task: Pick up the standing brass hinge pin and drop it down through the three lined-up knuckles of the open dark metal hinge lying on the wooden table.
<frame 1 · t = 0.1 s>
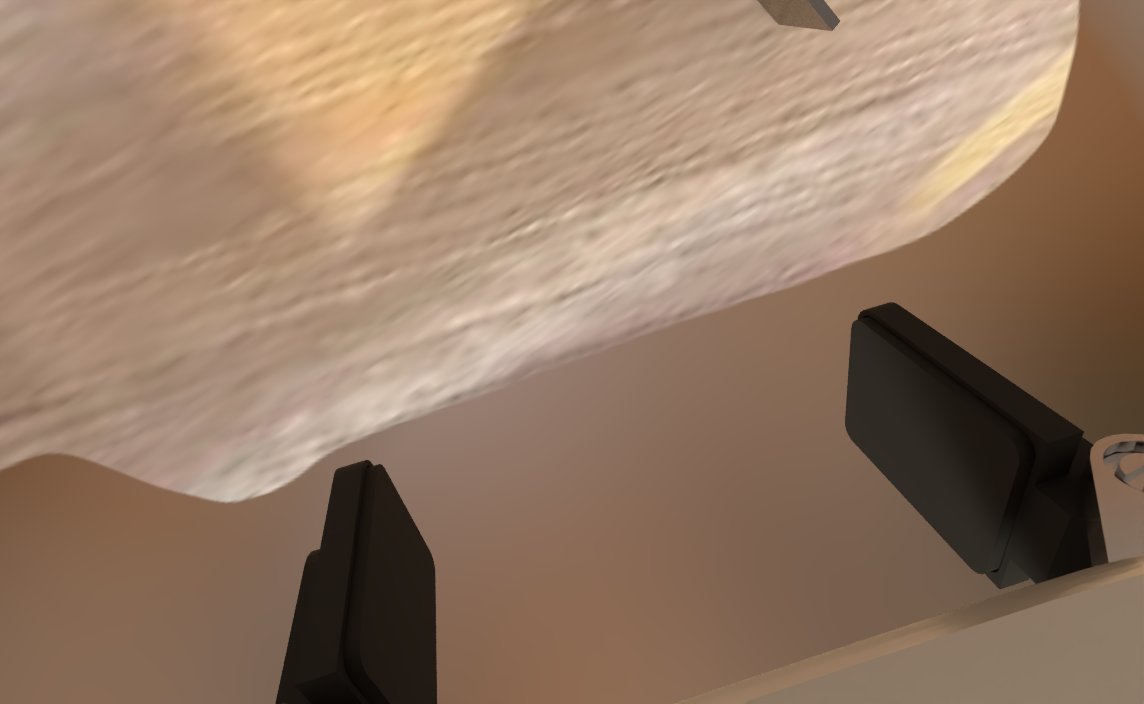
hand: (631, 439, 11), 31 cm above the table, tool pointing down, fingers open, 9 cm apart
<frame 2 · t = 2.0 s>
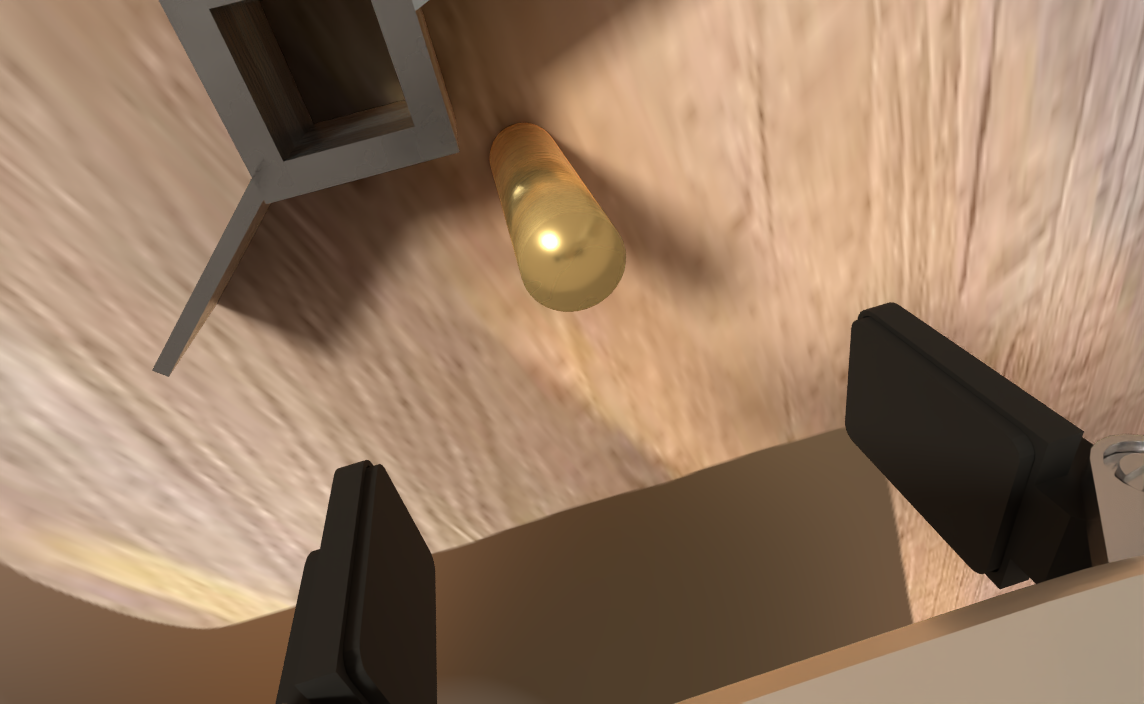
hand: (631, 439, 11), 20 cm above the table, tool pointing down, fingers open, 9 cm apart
hinge pin: (524, 158, 27), on the table
hinge: (343, 51, 24), on the table
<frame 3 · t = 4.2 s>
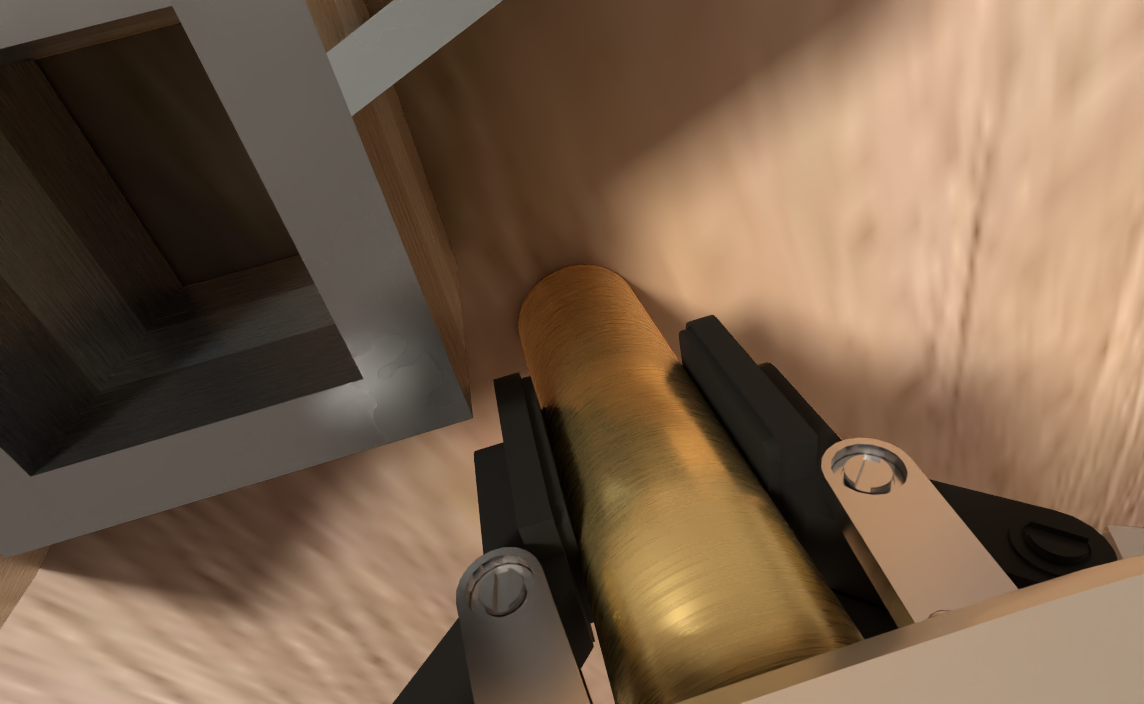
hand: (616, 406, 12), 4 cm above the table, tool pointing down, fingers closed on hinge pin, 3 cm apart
hinge pin: (579, 321, 15), on the table, touching gripper
hinge: (231, 154, 12), on the table
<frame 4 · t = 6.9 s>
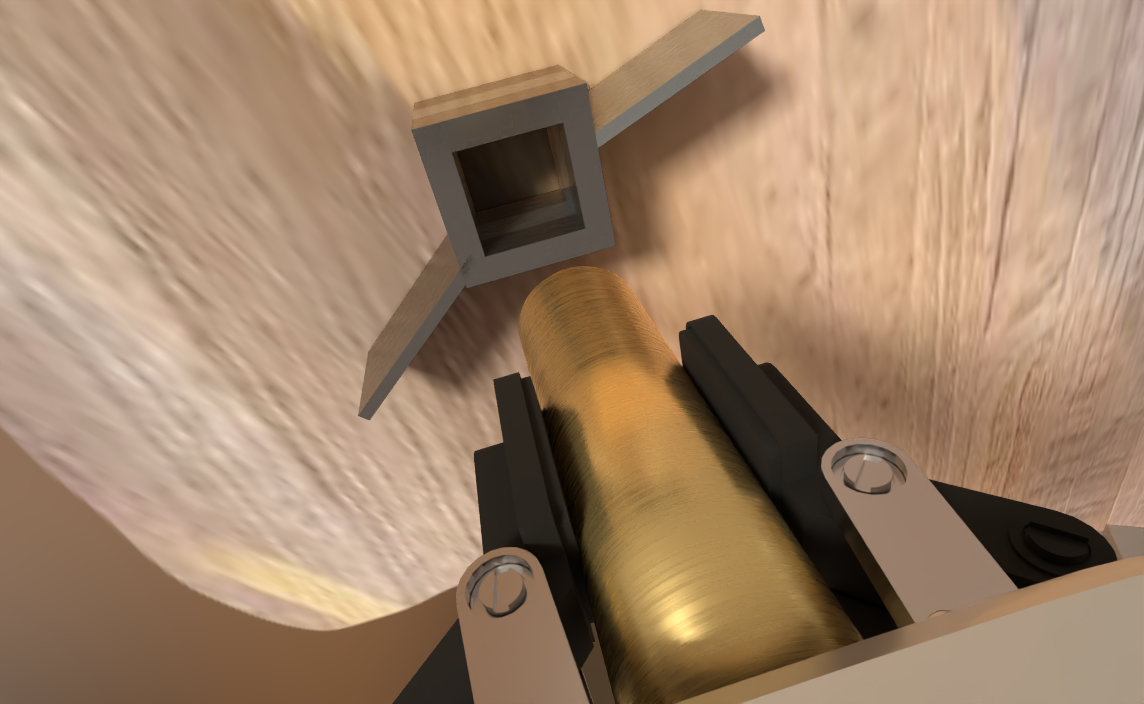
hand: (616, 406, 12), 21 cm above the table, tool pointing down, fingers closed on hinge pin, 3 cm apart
hinge pin: (579, 322, 16), point 17 cm above the table, touching gripper
hinge: (506, 157, 30), on the table
when the fingers open (11 cm above the table, at t = 9.8 s): hinge pin drops 7 cm, resting in hinge.
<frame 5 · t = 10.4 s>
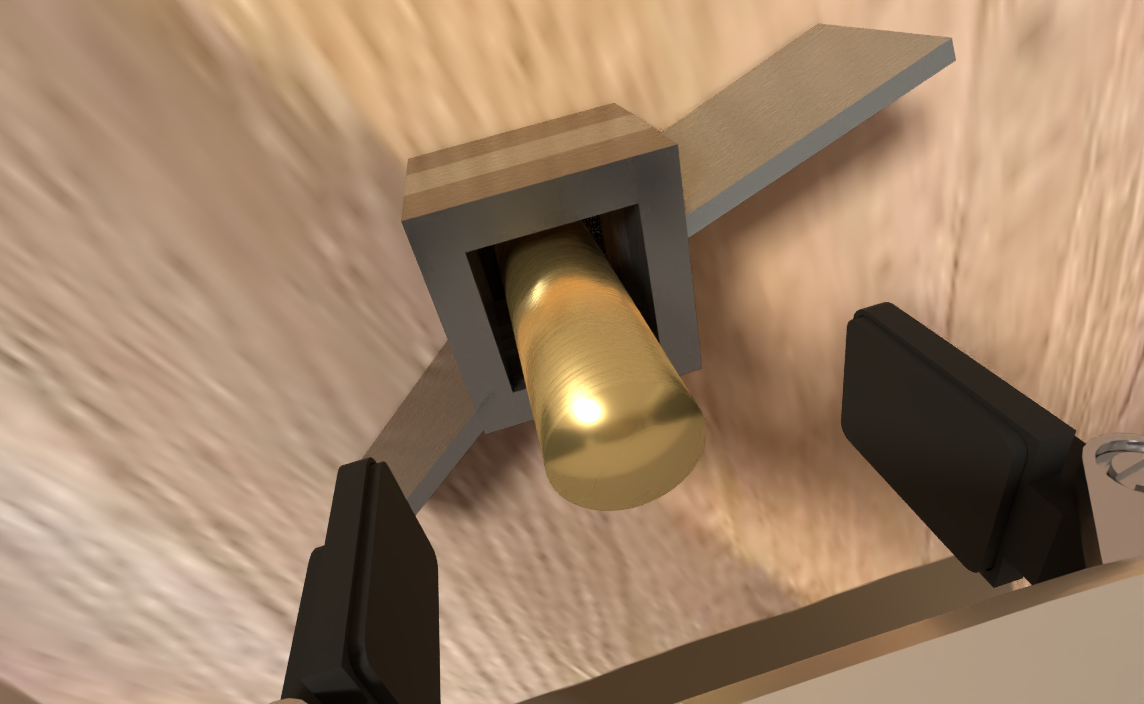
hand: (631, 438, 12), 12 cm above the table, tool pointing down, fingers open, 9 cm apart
hinge pin: (536, 230, 21), resting in hinge
hinge: (537, 229, 21), on the table
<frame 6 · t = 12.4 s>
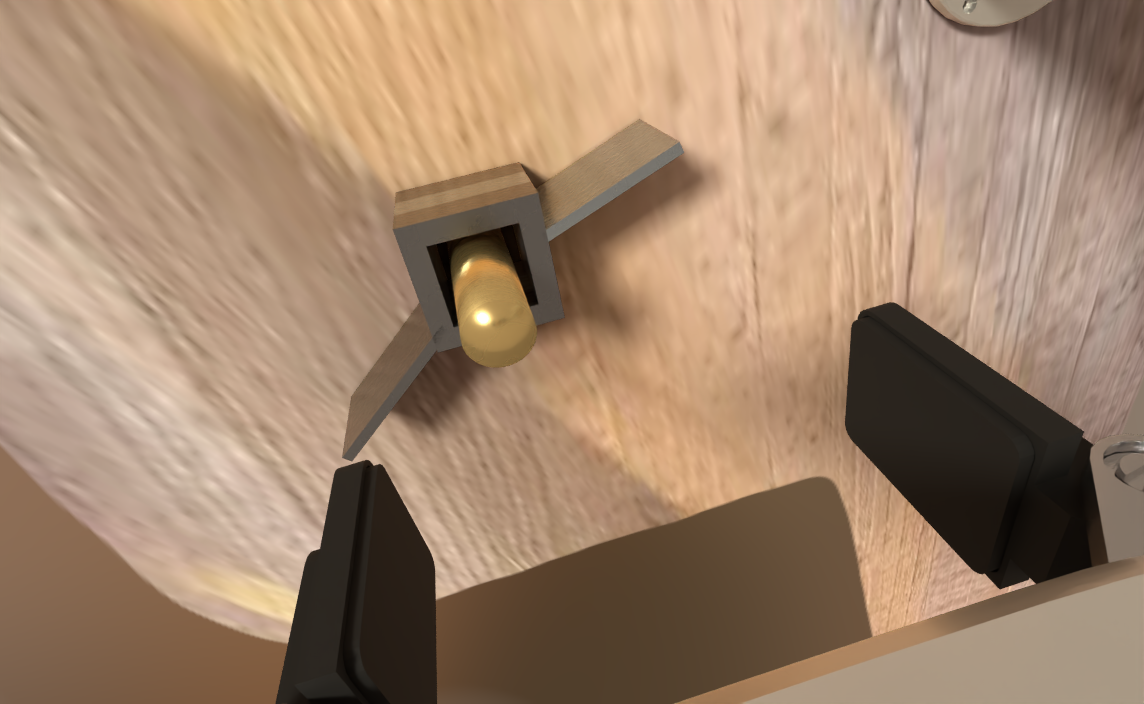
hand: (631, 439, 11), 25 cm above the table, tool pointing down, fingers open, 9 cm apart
hinge pin: (473, 236, 35), resting in hinge
hinge: (474, 235, 35), on the table
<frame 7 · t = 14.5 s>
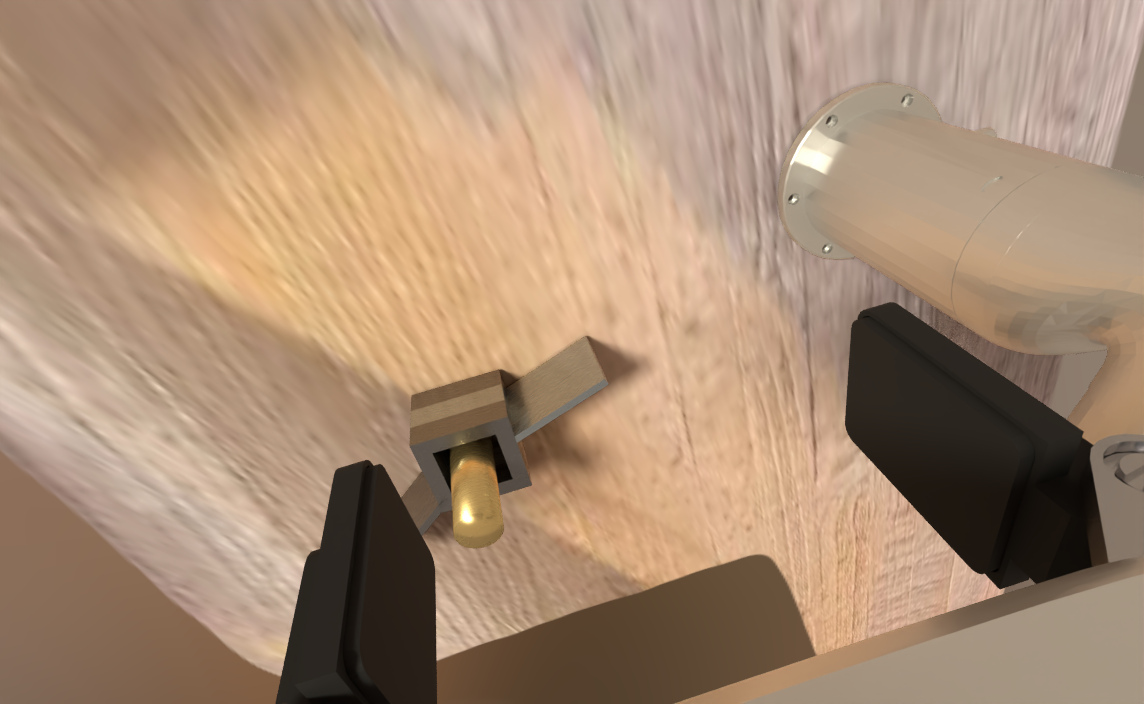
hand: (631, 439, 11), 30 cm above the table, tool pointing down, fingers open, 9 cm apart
hinge pin: (468, 416, 48), resting in hinge
hinge: (469, 416, 48), on the table
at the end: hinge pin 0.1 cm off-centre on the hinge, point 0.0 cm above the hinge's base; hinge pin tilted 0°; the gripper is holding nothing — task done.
